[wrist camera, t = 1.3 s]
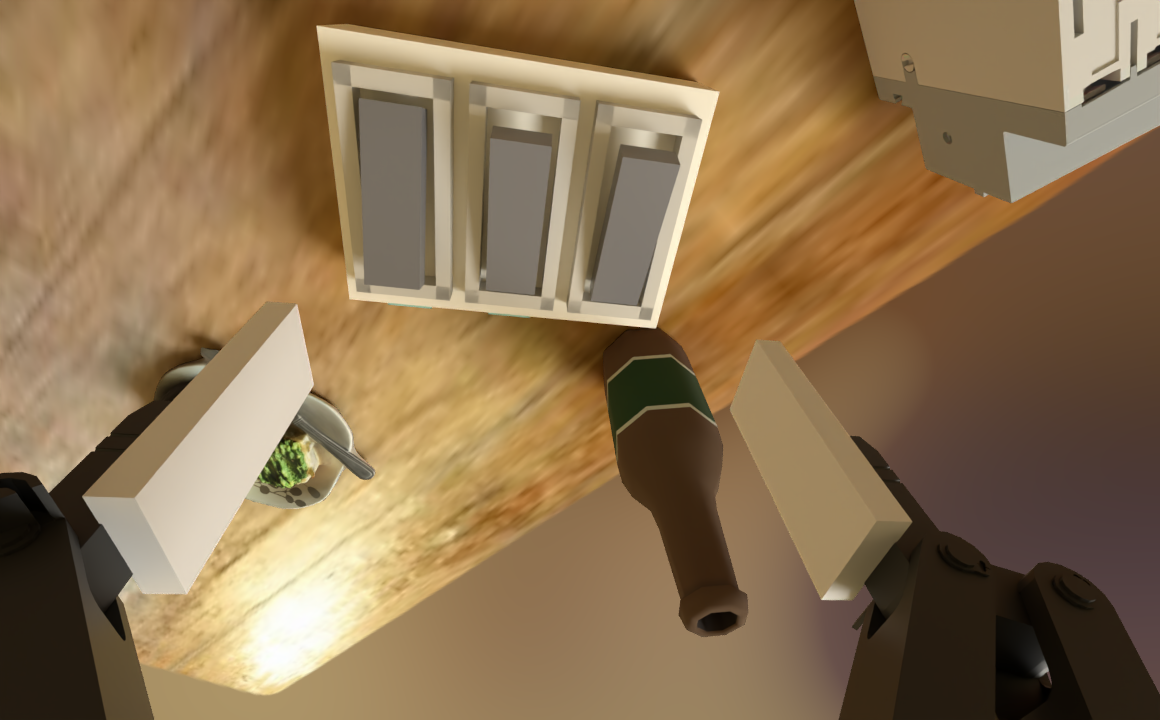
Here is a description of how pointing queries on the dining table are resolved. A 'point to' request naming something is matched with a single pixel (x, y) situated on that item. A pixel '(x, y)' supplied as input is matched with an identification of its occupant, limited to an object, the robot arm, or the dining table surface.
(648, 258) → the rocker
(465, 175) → the console
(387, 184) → the rocker
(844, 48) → the dining table surface
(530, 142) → the block
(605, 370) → the beer bottle
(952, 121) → the circuit breaker
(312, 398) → the salad plate
